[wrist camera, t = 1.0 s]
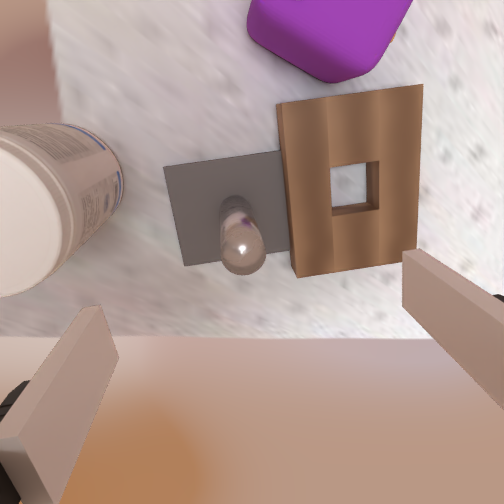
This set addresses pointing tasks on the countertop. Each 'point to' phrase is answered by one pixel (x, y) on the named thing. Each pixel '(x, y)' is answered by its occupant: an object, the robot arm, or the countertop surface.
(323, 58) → the toy camera
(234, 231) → the peg
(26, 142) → the supplement tub
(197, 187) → the mat
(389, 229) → the socket block
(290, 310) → the countertop surface
